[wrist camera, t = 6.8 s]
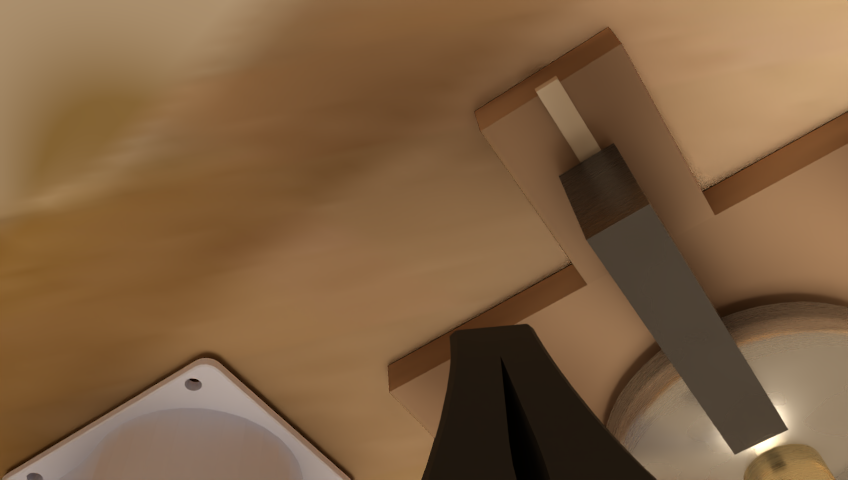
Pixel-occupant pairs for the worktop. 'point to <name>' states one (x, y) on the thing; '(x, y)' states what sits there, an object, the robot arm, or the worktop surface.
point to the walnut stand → (675, 205)
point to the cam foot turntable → (713, 355)
